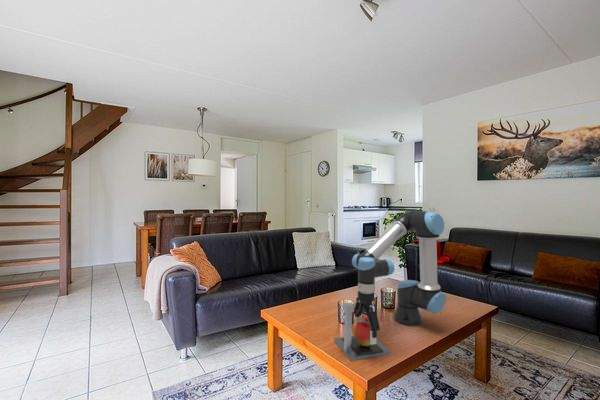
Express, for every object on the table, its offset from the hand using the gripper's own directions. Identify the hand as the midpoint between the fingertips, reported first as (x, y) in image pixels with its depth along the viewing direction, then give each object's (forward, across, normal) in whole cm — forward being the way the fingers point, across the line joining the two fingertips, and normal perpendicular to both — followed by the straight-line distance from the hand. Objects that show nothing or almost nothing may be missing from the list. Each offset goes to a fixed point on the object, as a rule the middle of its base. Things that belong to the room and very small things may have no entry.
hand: (365, 336), depth 138 cm
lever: (+4, -9, +6) cm, 12 cm away
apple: (+4, 0, 0) cm, 4 cm away
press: (+6, -3, 0) cm, 7 cm away
